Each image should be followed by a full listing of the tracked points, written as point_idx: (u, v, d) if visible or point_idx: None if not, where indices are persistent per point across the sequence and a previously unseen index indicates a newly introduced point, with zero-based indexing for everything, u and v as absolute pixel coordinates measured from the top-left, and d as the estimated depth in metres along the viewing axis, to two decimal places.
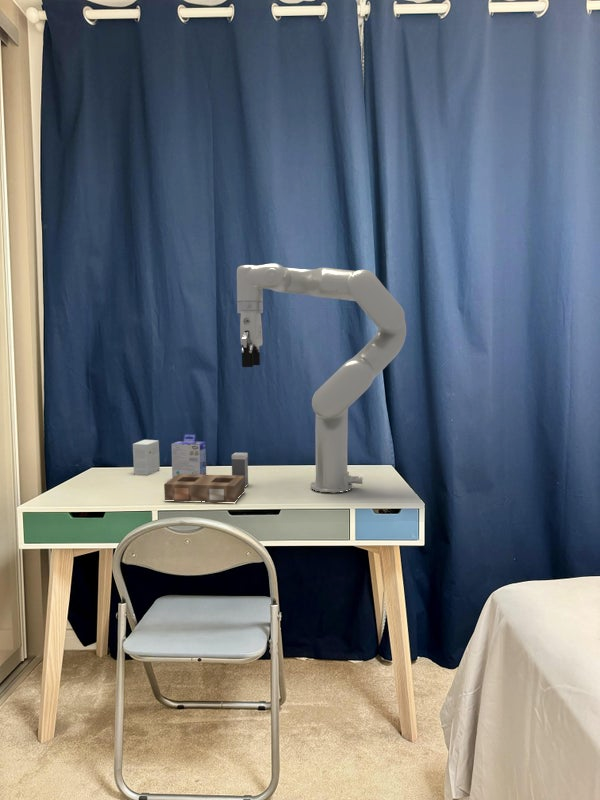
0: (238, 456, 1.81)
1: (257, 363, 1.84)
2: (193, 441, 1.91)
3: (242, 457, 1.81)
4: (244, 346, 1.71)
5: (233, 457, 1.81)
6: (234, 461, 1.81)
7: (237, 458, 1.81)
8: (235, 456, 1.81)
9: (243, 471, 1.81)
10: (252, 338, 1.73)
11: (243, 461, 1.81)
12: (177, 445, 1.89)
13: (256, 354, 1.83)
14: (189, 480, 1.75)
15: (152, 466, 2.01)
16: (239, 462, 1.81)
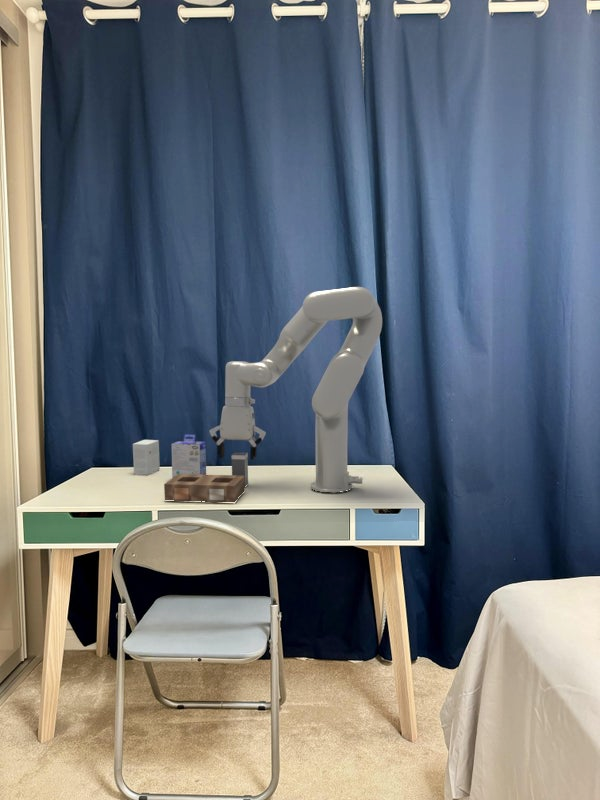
0: (238, 456, 1.81)
1: (223, 455, 1.85)
2: (193, 441, 1.91)
3: (242, 457, 1.81)
4: None
5: (233, 457, 1.81)
6: (234, 461, 1.81)
7: (237, 458, 1.81)
8: (235, 456, 1.81)
9: (243, 471, 1.81)
10: None
11: (243, 461, 1.81)
12: (177, 445, 1.89)
13: (223, 446, 1.84)
14: (189, 480, 1.75)
15: (152, 466, 2.01)
16: (239, 462, 1.81)
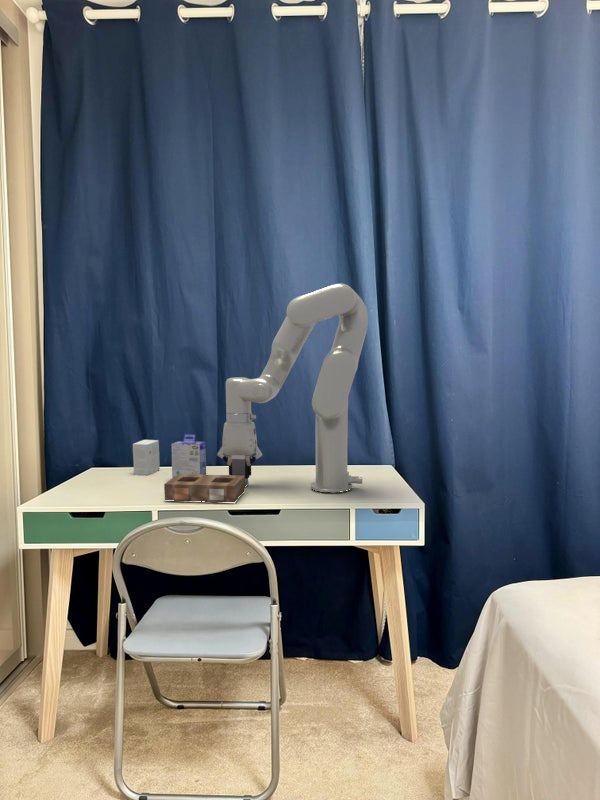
0: (238, 456, 1.81)
1: None
2: (193, 441, 1.91)
3: (242, 457, 1.81)
4: (256, 458, 1.82)
5: (233, 457, 1.81)
6: (234, 461, 1.81)
7: (237, 458, 1.81)
8: (235, 456, 1.81)
9: (243, 471, 1.81)
10: None
11: (243, 461, 1.81)
12: (177, 445, 1.89)
13: None
14: (189, 480, 1.75)
15: (152, 466, 2.01)
16: (239, 462, 1.81)
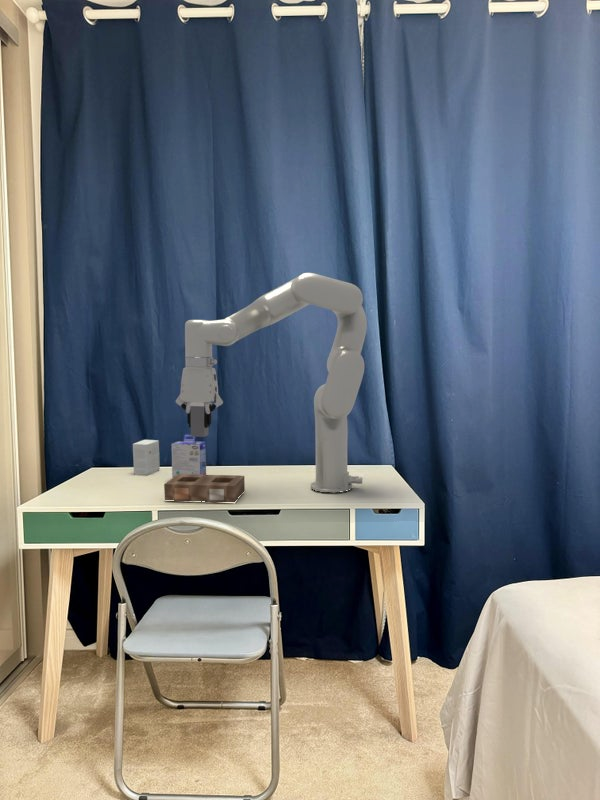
0: (197, 403, 1.71)
1: None
2: (193, 441, 1.91)
3: (201, 404, 1.71)
4: (216, 406, 1.72)
5: (192, 404, 1.71)
6: (193, 408, 1.71)
7: (196, 405, 1.71)
8: (194, 403, 1.71)
9: (202, 419, 1.71)
10: None
11: (202, 408, 1.71)
12: (177, 445, 1.89)
13: None
14: (189, 480, 1.75)
15: (152, 466, 2.01)
16: (198, 409, 1.71)
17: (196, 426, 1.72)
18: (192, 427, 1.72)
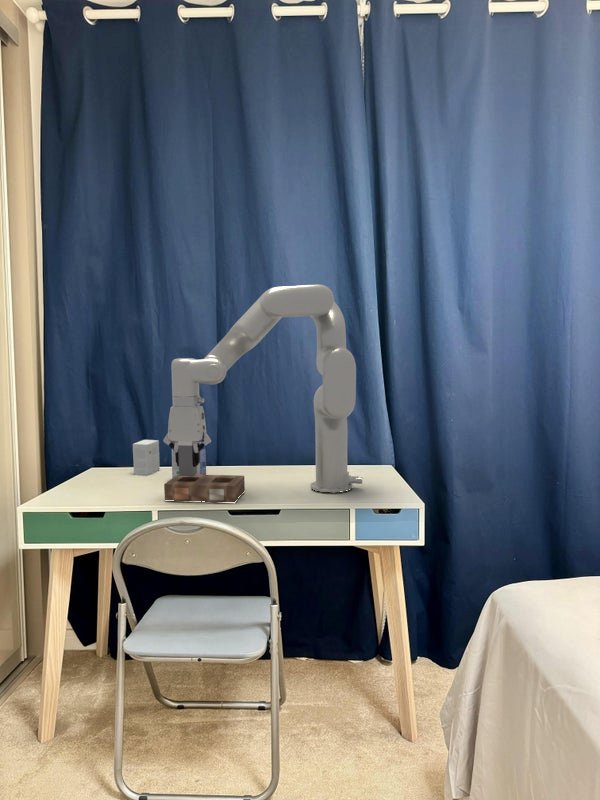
0: (185, 442, 1.69)
1: None
2: None
3: (189, 443, 1.69)
4: None
5: (180, 443, 1.69)
6: (181, 447, 1.70)
7: (184, 444, 1.69)
8: (182, 442, 1.69)
9: (190, 458, 1.69)
10: None
11: (190, 447, 1.69)
12: None
13: None
14: (189, 480, 1.75)
15: (152, 466, 2.01)
16: (186, 448, 1.69)
17: (185, 465, 1.70)
18: (180, 466, 1.70)
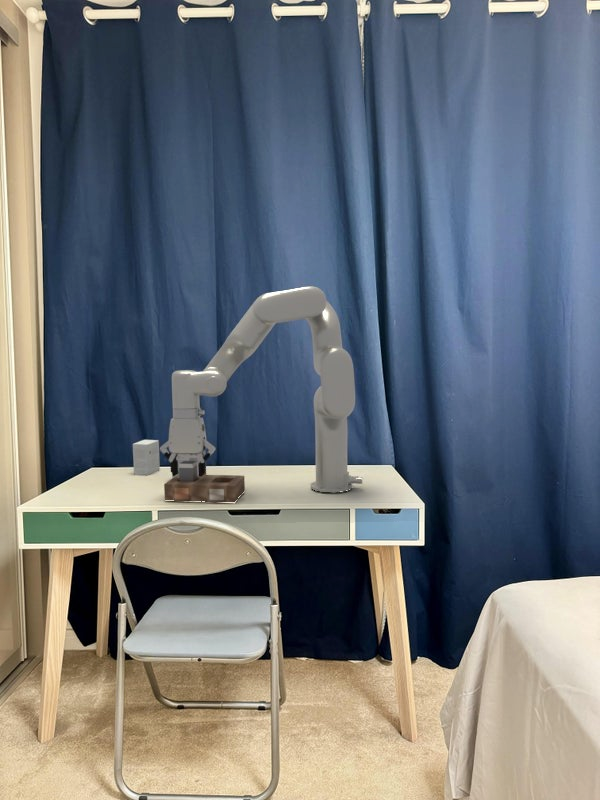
0: (186, 464, 1.70)
1: (177, 472, 1.74)
2: None
3: (190, 466, 1.70)
4: (210, 455, 1.70)
5: (180, 466, 1.70)
6: (181, 470, 1.70)
7: (185, 467, 1.70)
8: (182, 464, 1.70)
9: (191, 480, 1.70)
10: None
11: (191, 470, 1.70)
12: None
13: (176, 463, 1.73)
14: None
15: (152, 466, 2.01)
16: (187, 471, 1.70)
17: None
18: None
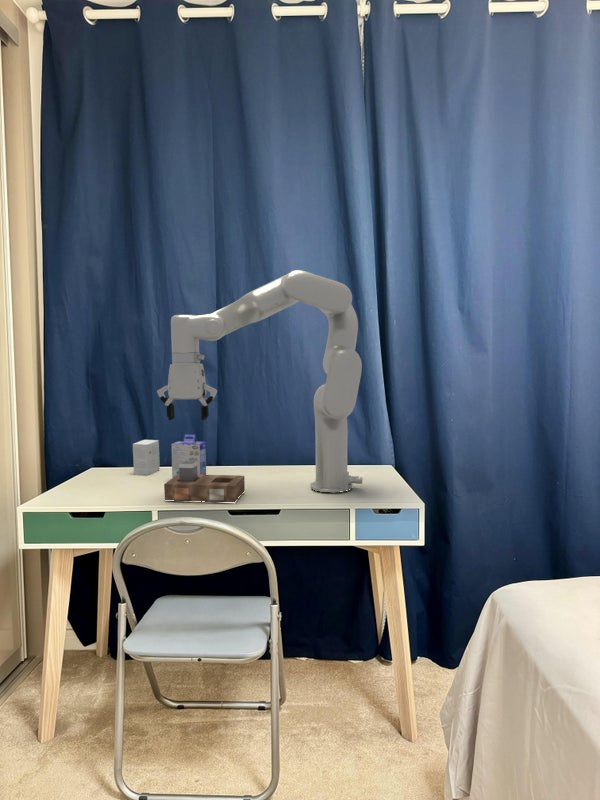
0: (186, 465, 1.70)
1: (173, 417, 1.72)
2: (193, 441, 1.91)
3: (190, 466, 1.70)
4: (213, 398, 1.69)
5: (180, 466, 1.70)
6: (181, 470, 1.70)
7: (185, 467, 1.70)
8: (182, 464, 1.70)
9: (191, 480, 1.70)
10: (205, 390, 1.71)
11: (191, 470, 1.70)
12: (177, 445, 1.89)
13: (173, 407, 1.72)
14: None
15: (152, 466, 2.01)
16: (187, 471, 1.70)
17: None
18: None
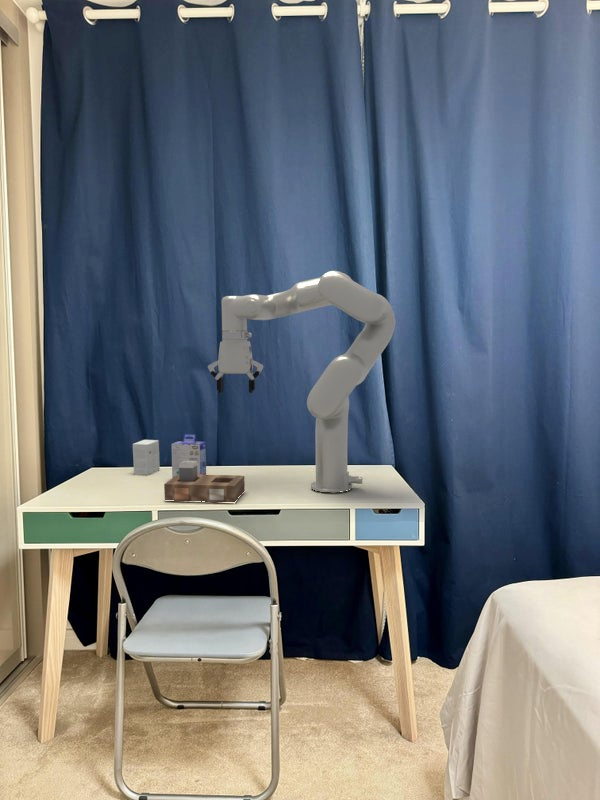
0: (186, 465, 1.70)
1: (222, 390, 1.88)
2: (193, 441, 1.91)
3: (190, 466, 1.70)
4: (259, 373, 1.84)
5: (180, 466, 1.70)
6: (181, 470, 1.70)
7: (185, 467, 1.70)
8: (182, 464, 1.70)
9: (191, 480, 1.70)
10: (252, 365, 1.86)
11: (191, 470, 1.70)
12: (177, 445, 1.89)
13: (222, 381, 1.87)
14: None
15: (152, 466, 2.01)
16: (187, 471, 1.70)
17: None
18: None
